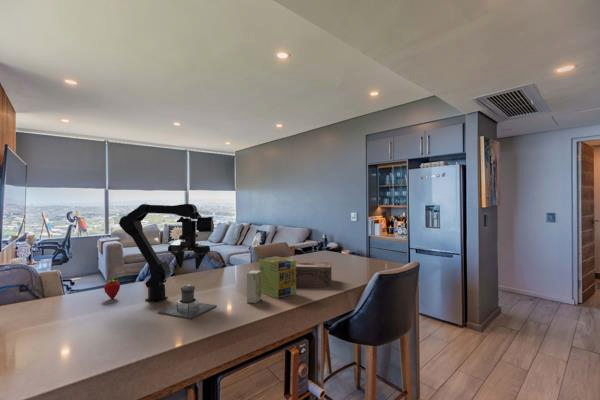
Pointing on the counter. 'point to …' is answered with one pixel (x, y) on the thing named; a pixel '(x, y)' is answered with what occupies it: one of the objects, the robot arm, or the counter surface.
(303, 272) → the tissue box cover
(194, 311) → the barrel stand
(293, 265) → the protein box
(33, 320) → the counter surface
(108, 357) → the counter surface
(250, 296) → the skincare box
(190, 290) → the plug
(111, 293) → the strawberry
